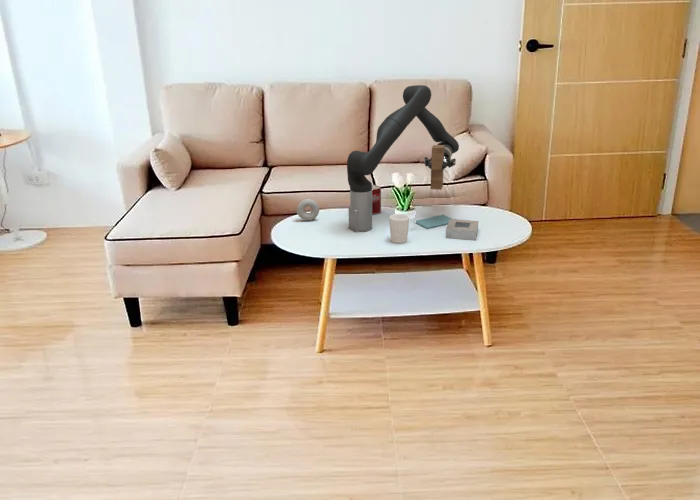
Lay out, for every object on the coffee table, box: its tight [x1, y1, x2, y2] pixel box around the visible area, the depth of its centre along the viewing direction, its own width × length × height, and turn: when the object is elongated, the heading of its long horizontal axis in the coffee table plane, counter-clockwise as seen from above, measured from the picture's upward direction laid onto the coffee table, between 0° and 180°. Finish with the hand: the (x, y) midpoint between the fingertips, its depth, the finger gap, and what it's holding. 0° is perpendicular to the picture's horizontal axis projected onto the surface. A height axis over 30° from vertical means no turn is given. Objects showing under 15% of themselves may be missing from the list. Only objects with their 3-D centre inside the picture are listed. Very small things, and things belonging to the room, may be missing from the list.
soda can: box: [372, 184, 382, 215], centre depth 284 cm, size 7×7×12 cm
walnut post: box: [430, 144, 445, 191], centre depth 263 cm, size 5×5×18 cm
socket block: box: [445, 218, 479, 241], centre depth 259 cm, size 12×12×4 cm
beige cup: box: [389, 213, 410, 244], centre depth 253 cm, size 8×8×10 cm
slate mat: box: [415, 214, 453, 230], centre depth 273 cm, size 16×10×1 cm, turn 119°
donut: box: [296, 198, 320, 222], centre depth 276 cm, size 10×4×10 cm, turn 98°
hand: (436, 166), depth 261 cm, fingers closed on walnut post, 4 cm apart
